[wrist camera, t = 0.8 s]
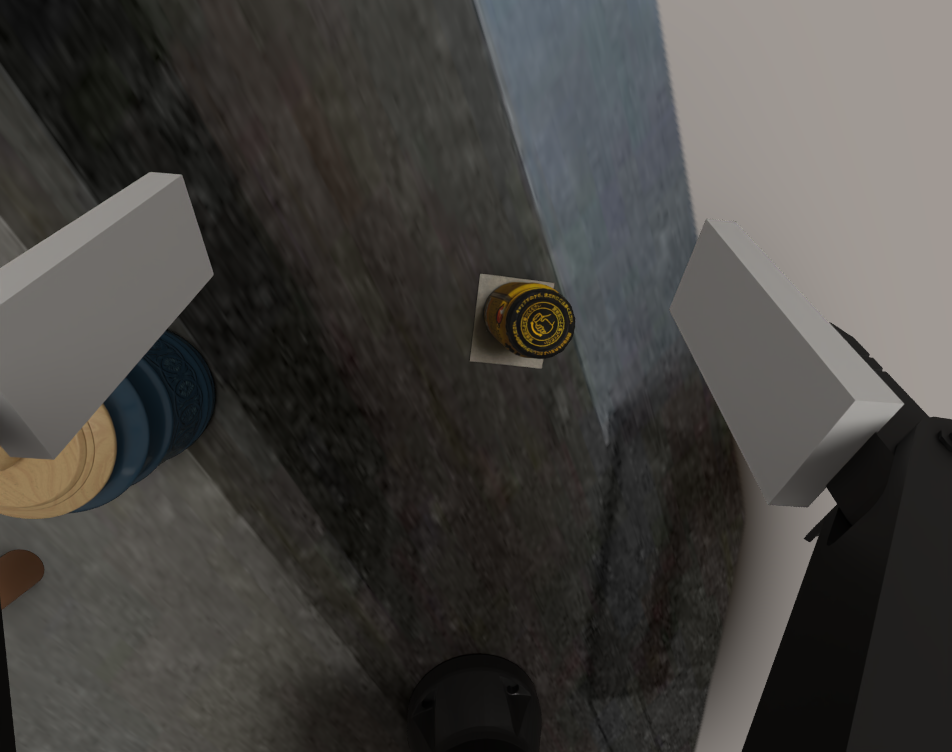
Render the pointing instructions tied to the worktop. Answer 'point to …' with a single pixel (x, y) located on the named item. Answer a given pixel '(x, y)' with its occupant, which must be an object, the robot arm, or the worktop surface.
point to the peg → (18, 574)
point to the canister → (118, 437)
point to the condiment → (519, 322)
